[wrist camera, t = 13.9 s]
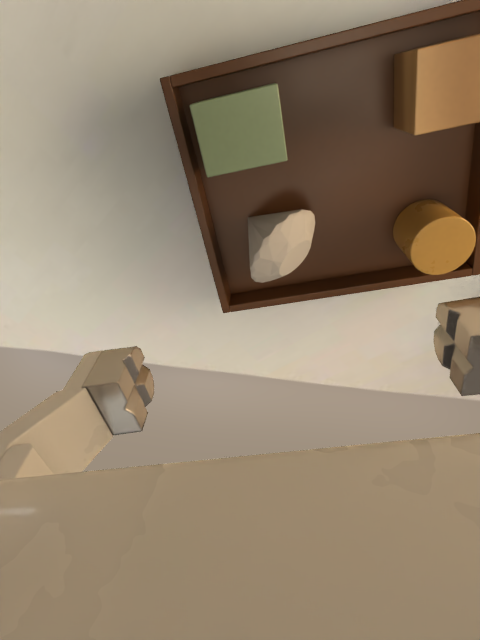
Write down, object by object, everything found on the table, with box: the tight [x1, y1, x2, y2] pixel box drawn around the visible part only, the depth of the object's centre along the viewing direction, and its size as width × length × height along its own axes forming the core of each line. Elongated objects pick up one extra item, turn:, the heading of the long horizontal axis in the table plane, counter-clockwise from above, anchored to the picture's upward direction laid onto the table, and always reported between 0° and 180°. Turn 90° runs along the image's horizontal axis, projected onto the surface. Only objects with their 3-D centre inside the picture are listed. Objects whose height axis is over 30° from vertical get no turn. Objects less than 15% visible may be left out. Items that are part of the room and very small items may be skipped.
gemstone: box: [248, 209, 315, 283], centre depth 27 cm, size 6×6×5 cm
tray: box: [160, 0, 480, 313], centre depth 25 cm, size 19×16×2 cm
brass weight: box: [393, 199, 476, 275], centre depth 26 cm, size 4×4×4 cm
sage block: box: [190, 83, 288, 177], centre depth 23 cm, size 5×4×4 cm
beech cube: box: [394, 33, 480, 136], centre depth 21 cm, size 4×4×4 cm
